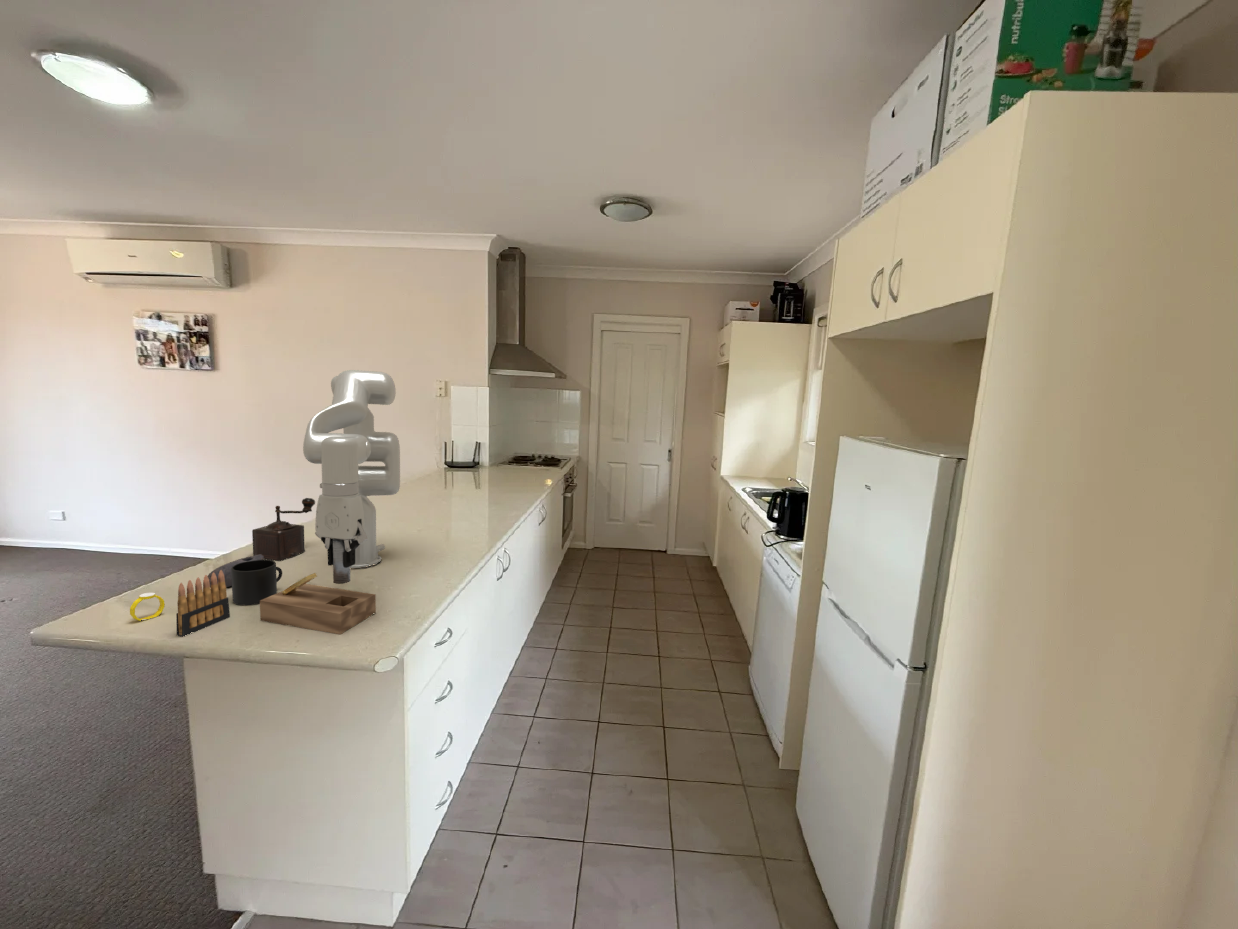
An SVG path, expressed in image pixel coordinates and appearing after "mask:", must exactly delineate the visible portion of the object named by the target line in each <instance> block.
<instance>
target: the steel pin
mask: <svg viewBox="0 0 1238 929" xmlns="http://www.w3.org/2000/svg"><path fill="white" fill-rule="evenodd" d="M344 551H346V550H345V543H344V540H341V539H333V565H332V576H333V577H332V579H333V584H335V585H343V584H348V583H350V582H351V569H350V567H347V568H344V567H343V552H344Z"/></svg>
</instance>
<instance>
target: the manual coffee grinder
mask: <svg viewBox="0 0 1238 929" xmlns="http://www.w3.org/2000/svg"><path fill="white" fill-rule="evenodd" d="M301 504H302V505H303V508H302V510H281V506H280V505H275V513H276V520H275V521H273V522H271V523H269V524H267V526H262V527H258V528H255V529H252V531H251V532H252V536H251V538H252V556H255V555H259V554H262V556H264V560H266V559H267V560H272V561H274V560H275V562H282V561H285V560H287V559H286V558H288V559H291V558H293V556H294V557H296V556H298V555H300V554H299V553H301V552H303V553H304V552H306V549H305V548H306V545H305V526H304V525H303V524H294V523H290V522H289V521H284V520H281V514H303V513H305V514H307V513H310V512H313V510H312V508H313V506H314V505H316V501H315V499H314V498H310V497H305V498H303V499H302V500H301ZM297 554H298V555H297ZM301 554H302V553H301ZM284 559H285V560H284ZM281 560H282V561H281Z"/></svg>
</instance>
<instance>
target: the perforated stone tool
mask: <svg viewBox="0 0 1238 929" xmlns="http://www.w3.org/2000/svg"><path fill="white" fill-rule="evenodd" d="M252 560H265V559H264V556H262V554H259V555H255V556H253V555H251V556H246V557H242V558H238V559H235V560H233V561H231V562H228V563H225V564H222V565H220V566H218V567H217V568H215V569H213V570H212V571H210V572H209V573H208V575H207V576H208V578H209V582H210V589H211V576H212V573H213V572H214V573H215V574H216V577H217V584H218V576H219V572H220V570H222V571H223V574H224V578H225V585H226V588H228V587H232V576H231V568H232V567H233V566H234V565H236V564H239V563H242V562H246V561H252Z"/></svg>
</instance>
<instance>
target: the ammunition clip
mask: <svg viewBox="0 0 1238 929" xmlns="http://www.w3.org/2000/svg"><path fill="white" fill-rule="evenodd" d="M194 584H195V585H194ZM194 584H193V582H192V580H190V579H189V580H188V581H187V585H186V589H185V585H184V584H183V583H182V582H180V584H179V585H178V591H177V594H178V596H177V604H176V605H177V612H176V636H177V635H178V636H177V637H181V636H182V637H183V636H184V637H186V636H185V635H187V634H189V635H191V634H192V633H191V632H194V633H197V632H199V631H200V630H203V629H206V628H207V627H210V626H212V625H215V624H218V623H220V622H221V621H225V620H227V619H229V618H230V617H231V613H230V602H229V601H230V600H229V597H228V596H227V587H226V585H225V578H224V574H223V571H222V570H220V572H219V576H218V584H217V577H216V574H215V573H214V572H213V573H212V576H211V588H210V582H209V578H208V575H207V574H205V575H204V577H203V583H202V580H201V579H200V578H199V577H196V579H195V583H194ZM205 627H206V628H205ZM198 630H199V631H198ZM190 633H191V634H190ZM187 636H188V635H187ZM182 637H181V638H182ZM184 637H183V638H184Z"/></svg>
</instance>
